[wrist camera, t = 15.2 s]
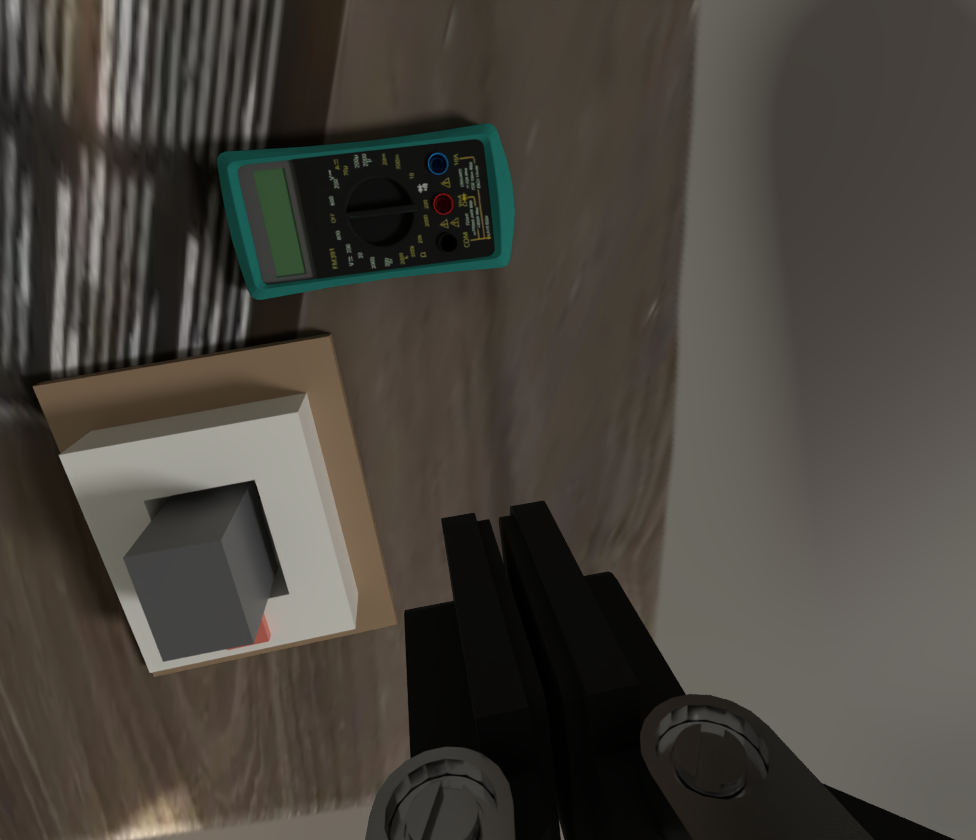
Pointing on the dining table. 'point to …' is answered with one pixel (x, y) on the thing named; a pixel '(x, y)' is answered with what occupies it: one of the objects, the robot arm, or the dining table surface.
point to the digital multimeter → (368, 209)
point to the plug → (204, 570)
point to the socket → (232, 478)
